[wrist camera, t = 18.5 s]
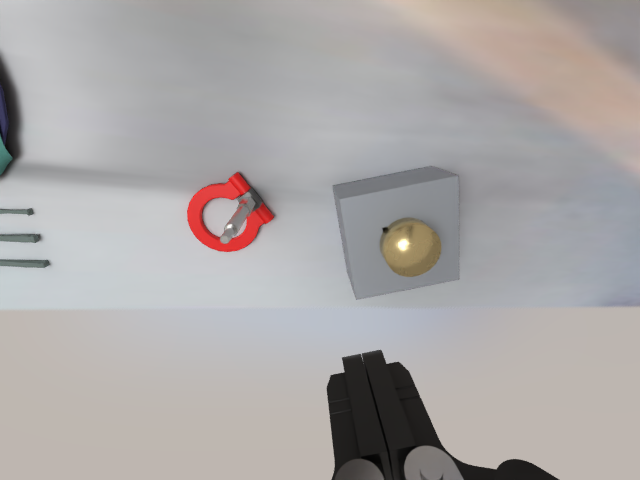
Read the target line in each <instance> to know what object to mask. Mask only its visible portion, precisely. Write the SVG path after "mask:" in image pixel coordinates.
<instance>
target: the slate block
mask: <svg viewBox="0 0 640 480" xmlns="http://www.w3.org/2000/svg"><path fill="white" fill-rule="evenodd" d="M333 192H334V197H335V203H336V209H337V215H338V221H339V227H340V233H341V238H342V244H343V250H344V256H345V262H346V268H347V273H348V276H349V279H350V282H351V285H352V289H353V292H354V295H355V298H356V300H358V299H363V298H368V297H373V296H378V295H383V294H388V293H393V292H399V291H404V290H409V289H414V288H419V287H424V286H429V285H434V284H439V283H444V282H449V281H454V280H459V176H458V175H455V174H453V173H450V172H447V171H444V170H441V169H439V168H436V167H433V166H429V167H424V168H419V169H414V170H409V171H404V172H399V173H394V174H389V175H384V176H379V177H374V178H369V179H364V180H359V181H354V182H349V183H344V184H339V185H334V186H333ZM407 217H411V218H416V219H419V220H421V221H422V222H424V223H425V224H426V225H427V226H429V227H430V228H431V229H432V230H433V231H435V232H436V234H437V235H438V236H439V238H440V241H441V254H440V257H439V259H438V261H437V263H436V264H435V265H434V266H433V267H432V268H431V269H430V270H429V271H427V272H426V273H424V274H422V275H419V276H415V277H404V276H401V275H398V274H396V273H395V272H393V271H392V270H391V268H390V267H389V266H388V264H387V262H386V261H385V259H384V258H383V256H382V254H381V251H380V245H379V244H380V238H381V235H382V233H383V229H382V228H384V227H388V226H389V225H390V224H391V223H393V222H394V221H396V220H398V219H401V218H407Z"/></svg>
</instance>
